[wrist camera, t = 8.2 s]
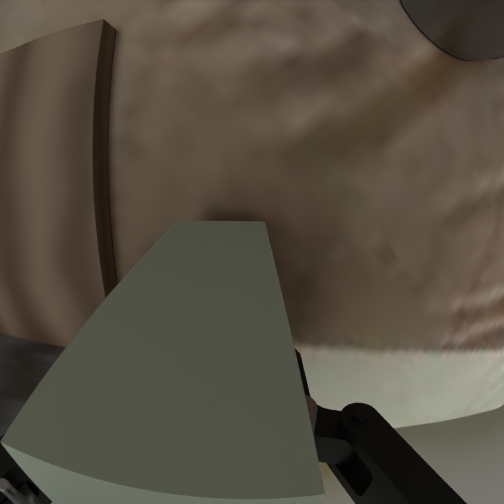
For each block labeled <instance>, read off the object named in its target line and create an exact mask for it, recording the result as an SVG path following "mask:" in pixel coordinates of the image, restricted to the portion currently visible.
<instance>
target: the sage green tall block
mask: <svg viewBox="0 0 504 504" xmlns="http://www.w3.org/2000/svg"><path fill="white" fill-rule="evenodd" d="M0 442H1V444H2V445H3V446H4V448H5V449H6V450H7V451H8V453H9V454H10V455H11V457H12V458H13V459H14V460H15V461H16V463H17V464H18V465H19V466H20V467H21V469H22V470H23V471H24V472H25V473H26V474H27V475H28V477H29V478H30V479H31V480H32V481H33V482H34V483H35V484H36V485H37V486H38V487H39V488H40V490H41V491H42V492H43V493H44V494H45V495H46V496H47V497H48V498H49V499H50V500H51V501H52V502H53V503H55V504H320V503H321V501H322V499H323V497H324V495H325V491H324V486H323V481H322V476H321V471H320V466H319V461H318V456H317V451H316V446H315V441H314V436H313V431H312V427H311V422H310V417H309V412H308V408H307V403H306V398H305V394H304V389H303V384H302V380H301V375H300V371H299V366H298V362H297V357H296V353H295V348H294V344H293V339H292V335H291V330H290V326H289V322H288V317H287V313H286V309H285V304H284V300H283V296H282V291H281V287H280V283H279V278H278V274H277V270H276V266H275V262H274V257H273V253H272V249H271V245H270V241H269V237H268V233H267V228H266V224H265V221H175V222H174V223H173V224H172V225H171V226H170V227H169V228H168V229H167V230H166V232H165V233H164V234H163V235H162V236H161V237H160V238H159V239H158V240H157V241H156V242H155V243H154V244H153V245H152V247H151V248H150V249H149V250H148V251H147V252H146V253H145V254H144V255H143V256H142V257H141V259H140V260H139V261H138V262H137V263H136V264H135V265H134V266H133V268H132V269H131V270H130V271H129V272H128V273H127V274H126V275H125V277H124V278H123V279H122V280H121V281H120V282H119V283H118V285H117V286H116V287H115V288H114V289H113V290H112V292H111V293H110V294H109V295H108V296H107V297H106V299H105V300H104V301H103V302H102V303H101V305H100V306H99V307H98V308H97V309H96V311H95V312H94V313H93V314H92V315H91V317H90V318H89V319H88V320H87V322H86V323H85V324H84V325H83V327H82V328H81V329H80V330H79V332H78V333H77V334H76V335H75V337H74V338H73V339H72V340H71V342H70V343H69V344H68V346H67V347H66V348H65V349H64V351H63V352H62V353H61V355H60V356H59V357H58V359H57V360H56V361H55V363H54V364H53V365H52V367H51V368H50V369H49V371H48V372H47V373H46V375H45V376H44V378H43V379H42V380H41V382H40V383H39V384H38V386H37V387H36V389H35V390H34V392H33V393H32V394H31V396H30V397H29V399H28V400H27V402H26V403H25V405H24V406H23V407H22V409H21V410H20V412H19V413H18V415H17V416H16V418H15V419H14V421H13V422H12V424H11V426H10V427H9V429H8V430H7V432H6V433H5V435H4V437H3V438H2V440H1V441H0Z"/></svg>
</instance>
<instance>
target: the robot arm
mask: <svg viewBox="0 0 504 504" xmlns="http://www.w3.org/2000/svg"><path fill="white" fill-rule="evenodd" d="M401 2H402V5H403V7H404V8H405V10H406V11H407V13H408V14H409V16H410V18H411V19H412V20H413V21H414V23H415V24H416V25H417V26H418V28H419V29H420V30H421V31H422V32H423V33H424V34H425V35H426V36H427V37H428V38H429V39H430V40H431V41H432V42H434V43H435V44H436V45H437V46H439V47H440V48H441V49H443V50H444V51H446V52H448V53H449V54H451V55H453V56H455V57H457V58H460V59H462V60H468V61H476V60H481V59H485V58H489V57H492V58H494V59H499V58H504V0H401ZM295 353H296V357H297V362H298V366H299V371H300V375H301V380H302V384H303V389H304V394H305V398H306V403H307V408H308V412H309V417H310V422H311V427H312V431H313V436H314V441H315V446H316V451H317V456H318V461H319V462H325V463H327V464H328V466H329V468H330V469H331V470H332V472H333V473H334V475H335V476H336V477H337V479H338V480H339V482H340V483H341V485H342V486H343V487H344V489H345V490H346V492H347V493H348V494H349V495H350V497H351V498H352V500H353V501H354V502H355V504H467V503H466V502H465V501H464V500H463V499H462V498H461V497H460V496H459V495H458V494H457V493H456V492H455V491H454V490H453V489H452V488H451V487H450V486H449V485H448V484H447V483H446V482H445V481H444V480H443V479H442V478H441V477H440V476H439V475H438V474H437V473H436V472H435V471H434V470H433V469H432V468H431V467H430V466H429V465H428V464H427V463H426V462H425V461H424V460H423V459H422V458H421V456H420V455H418V454H417V452H416V451H415V450H414V449H413V448H412V447H411V446H410V445H409V444H408V443H407V442H406V441H405V440H404V439H403V438H402V437H401V436H400V435H399V434H398V433H397V432H396V431H395V429H394V428H393V427H392V426H391V425H390V424H389V423H388V422H387V421H386V420H385V419H384V418H383V417H382V416H381V415H380V414H379V413H378V412H377V411H376V409H374V408H373V407H372V406H370V405H368V404H365V403H352V404H349V405H347V406H345V407H344V408H343V409H342V411H337V410H330V409H326V408H323V407H321V406H319V405H317V404H316V402H315V401H314V399H312V398H311V397H310V393H309V389H308V384H307V380H306V376H305V372H304V368H303V364H302V359H301V355H300V353H299V352H298V351H297V350H296V349H295ZM4 435H5V434H3V435H2V436H1V437H0V441H1V440H2V438H3V437H4ZM51 503H52V501H51V500H50V499H49V498H48V497H47V496H46V495H45V494H44V493H43V492H42V491H41V490H40V488H39V487H38V486H37V485H36V484H35V483H34V482H33V481H32V480H31V479H30V478H29V477H28V475H27V474H26V473H25V472H24V471H23V470H22V469H21V467H20V466H19V465H18V464H17V463H16V461H15V460H14V459H13V458H12V457H11V455H10V454H9V453H8V451H7V450H6V449H5V448H4V446H3V445H2V444H1V442H0V504H51Z"/></svg>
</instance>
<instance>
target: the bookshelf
mask: <svg viewBox="0 0 504 504" xmlns="http://www.w3.org/2000/svg"><path fill="white" fill-rule="evenodd" d="M115 36H116V29H115V28H113V27H112V26H111V25H110V24H109V23H107V22H106V21H105V20H104V19H103V20H99V21H95V22H91V23H87V24H83V25H79V26H76V27H72V28H69V29H66V30H63V31H59V32H56V33H53V34H50V35H47V36H45V37H42V38H39V39H36V40H34V41H31V42H28V43H26V44H23V45H21V46H19V47H16V48H14V49H12V50H9V51H7V52H5V53H3V54H0V437H1V436H2V435H3V434H5V433H6V432H7V430H8V429H9V427H10V426H11V424H12V422H13V421H14V419H15V418H16V416H17V415H18V413H19V412H20V410H21V409H22V407H23V406H24V405H25V403H26V402H27V400H28V399H29V397H30V396H31V394H32V393H33V392H34V390H35V389H36V387H37V386H38V384H39V383H40V382H41V380H42V379H43V378H44V376H45V375H46V373H47V372H48V371H49V369H50V368H51V367H52V365H53V364H54V363H55V361H56V360H57V359H58V357H59V356H60V355H61V353H62V352H63V351H64V349H65V348H66V347H67V346H68V344H69V343H70V342H71V340H72V339H73V338H74V337H75V335H76V334H77V333H78V332H79V330H80V329H81V328H82V327H83V325H84V324H85V323H86V322H87V320H88V319H89V318H90V317H91V315H92V314H93V313H94V312H95V311H96V309H97V308H98V307H99V306H100V305H101V303H102V302H103V301H104V300H105V299H106V297H107V296H108V295H109V294H110V293H111V292H112V290H113V289H114V288H115V287H116V286H117V282H116V274H115V266H114V258H113V248H112V238H111V226H110V212H109V194H108V111H109V93H110V80H111V69H112V60H113V51H114V43H115Z"/></svg>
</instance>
